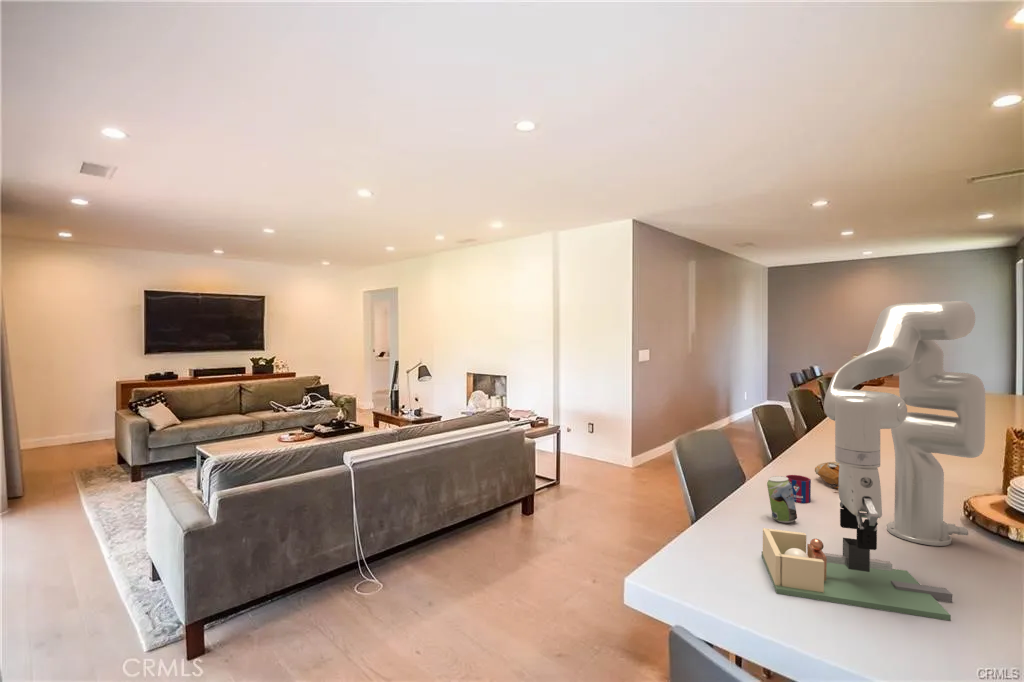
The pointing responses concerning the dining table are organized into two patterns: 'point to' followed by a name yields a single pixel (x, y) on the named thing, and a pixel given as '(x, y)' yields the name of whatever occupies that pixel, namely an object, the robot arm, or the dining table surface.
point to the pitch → (847, 581)
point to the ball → (796, 552)
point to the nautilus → (829, 472)
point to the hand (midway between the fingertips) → (857, 537)
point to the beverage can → (781, 499)
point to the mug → (800, 488)
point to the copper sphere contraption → (847, 556)
